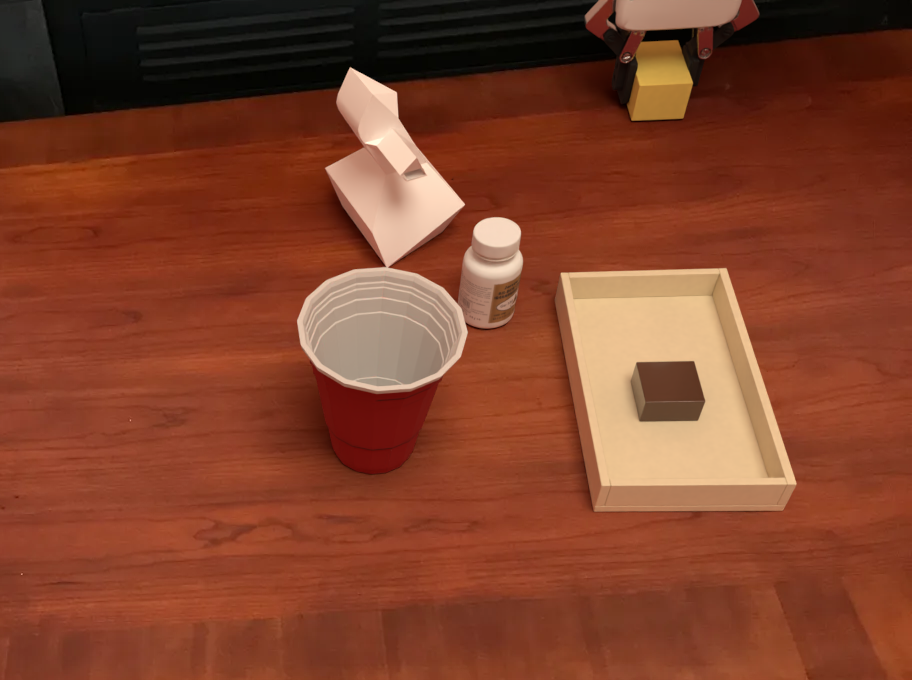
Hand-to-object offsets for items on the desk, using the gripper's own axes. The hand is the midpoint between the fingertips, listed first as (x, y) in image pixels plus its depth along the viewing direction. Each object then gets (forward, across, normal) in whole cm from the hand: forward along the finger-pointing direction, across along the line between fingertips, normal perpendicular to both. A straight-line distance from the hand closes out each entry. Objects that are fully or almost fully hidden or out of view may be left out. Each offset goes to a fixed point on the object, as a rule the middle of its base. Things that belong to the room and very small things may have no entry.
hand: (651, 92), depth 104 cm
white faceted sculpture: (+1, +24, +16) cm, 29 cm away
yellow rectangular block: (+1, 0, 0) cm, 1 cm away
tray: (+1, +6, +37) cm, 38 cm away
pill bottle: (+1, +17, +28) cm, 33 cm away
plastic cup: (+1, +26, +42) cm, 49 cm away
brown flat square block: (0, +6, +38) cm, 39 cm away
